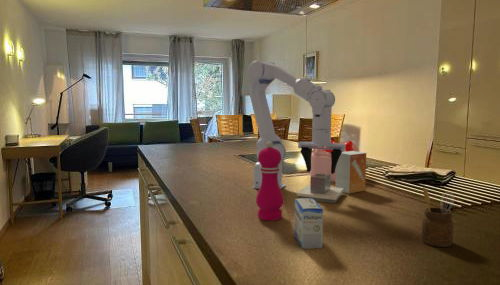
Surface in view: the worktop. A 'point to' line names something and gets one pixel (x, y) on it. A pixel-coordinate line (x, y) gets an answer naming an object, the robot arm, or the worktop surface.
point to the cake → (327, 160)
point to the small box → (351, 171)
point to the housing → (320, 183)
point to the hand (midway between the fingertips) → (320, 172)
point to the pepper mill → (269, 185)
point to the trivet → (328, 197)
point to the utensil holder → (437, 224)
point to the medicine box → (308, 223)
